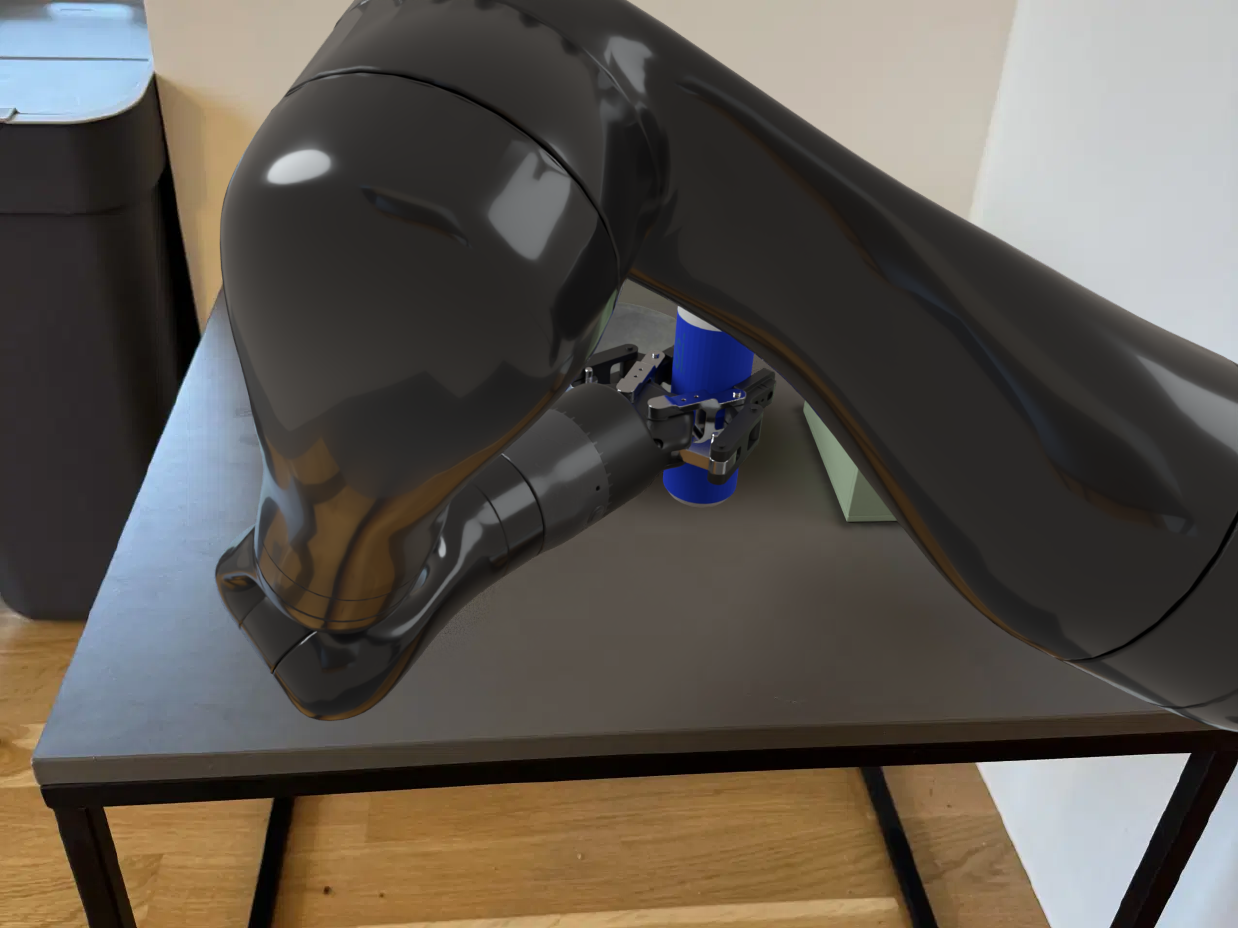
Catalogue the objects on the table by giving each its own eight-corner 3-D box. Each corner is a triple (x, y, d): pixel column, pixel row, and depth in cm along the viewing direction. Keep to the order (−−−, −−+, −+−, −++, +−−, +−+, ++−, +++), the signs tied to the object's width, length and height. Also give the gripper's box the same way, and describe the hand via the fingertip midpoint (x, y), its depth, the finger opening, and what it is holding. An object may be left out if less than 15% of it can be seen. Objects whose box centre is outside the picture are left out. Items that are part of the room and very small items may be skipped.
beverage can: (697, 458, 81) (717, 272, 72) (750, 491, 78) (778, 301, 69) (647, 485, 78) (661, 294, 69) (699, 520, 75) (722, 325, 66)
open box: (1038, 518, 91) (1061, 453, 87) (846, 522, 89) (860, 456, 85) (971, 409, 104) (988, 348, 100) (803, 411, 102) (813, 349, 98)
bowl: (525, 529, 87) (524, 446, 82) (434, 397, 101) (429, 320, 97) (751, 464, 95) (762, 386, 90) (637, 351, 110) (641, 278, 105)
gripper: (656, 469, 58) (833, 356, 68) (472, 367, 65) (657, 279, 76) (648, 577, 62) (815, 454, 73) (475, 470, 70) (650, 373, 80)
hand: (733, 365), depth 74 cm, fingers closed on beverage can, 5 cm apart
